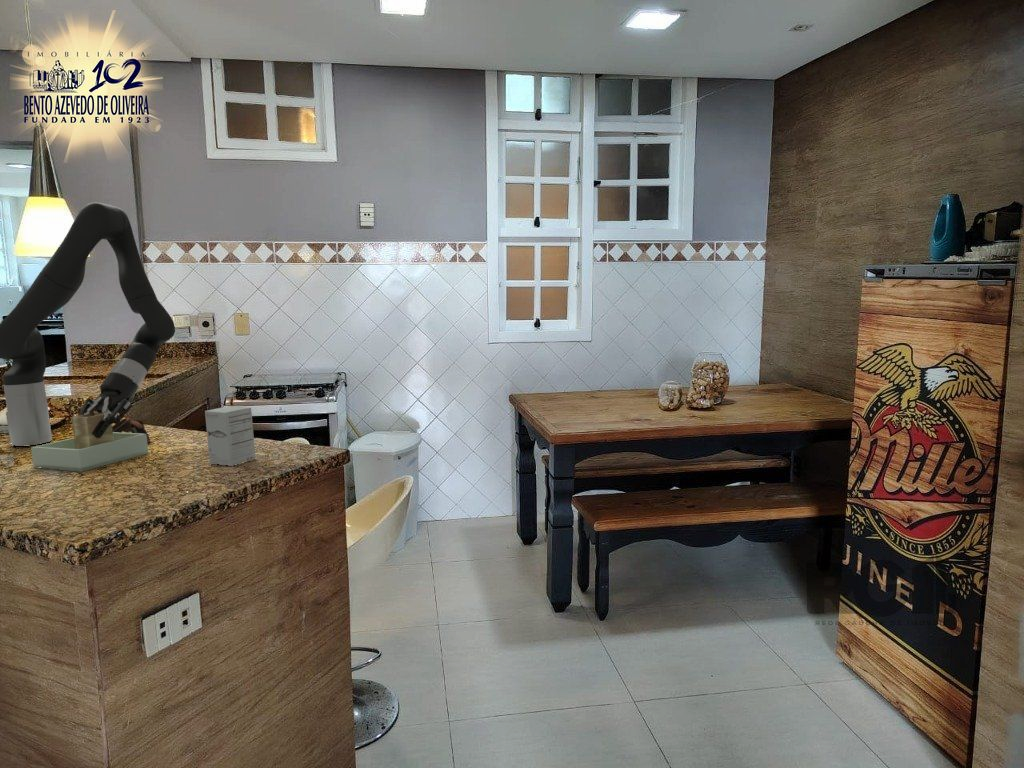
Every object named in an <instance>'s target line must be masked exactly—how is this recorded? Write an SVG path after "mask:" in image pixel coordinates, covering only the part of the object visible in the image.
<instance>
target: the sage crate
mask: <svg viewBox="0 0 1024 768" xmlns="http://www.w3.org/2000/svg"><path fill="white" fill-rule="evenodd" d="M113 439H114V441H112V442H108V443H104V444H99V445H95V446H91V447H87V448H83V449H76V447H75V440H74V437H71V438H67V439H66V438H65V439H63V440H57V441H54V442H53V441H52V442H50V443H46V444H42V445H36V446H30V449H31V450H30V451H31V457H32V464H33V468H34V467H41V468H49V469H48V470H53V469H59V470H58V471H66V470H68V472H70V471H71V472H86V471H89V470H90V471H91V470H93V469H97V468H100V467H104V466H108V465H111V464H115V463H117V462H122V461H125V460H129V459H132V458H136V457H140V456H144V455H146V454H147V455H148V454H149V445H148V444H149V443H147V436H146V434H140V433H132V432H122V433H119V432H113Z"/></svg>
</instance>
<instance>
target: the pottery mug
mask: <svg viewBox="0 0 1024 768" xmlns="http://www.w3.org/2000/svg"><path fill="white" fill-rule="evenodd" d="M112 431H113V432H119V433H140V434H146V436H147V444H149V443H150V442H151V438H150V435H149V434H148V432H147V430H146V428H145V424H144V422H143V421H142V420H141V419H138V418H134V419H133V420H132V419H131V418H130V417H126V418H124V419H123V418H122V419H121V420H120V422H119V423H118V424H115V423H114V424H113V425H112Z"/></svg>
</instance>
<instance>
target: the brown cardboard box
mask: <svg viewBox="0 0 1024 768" xmlns="http://www.w3.org/2000/svg"><path fill="white" fill-rule="evenodd" d="M94 412H95V416H93V415H91V414H86V413H84V415H79V416H78V415H75V416H71V423H72V424H71V425H72V432H73V438H74V440H75V447H76V449H83V448H87V447H91V446H95V445H99V444H104V443H108V442H112V441H114V439H113V431H112V427H113V424H112V425H111V426H108V428H107V429H106V431H105V432H104V434H103V435H102V437H101V438H96V437H95V436H94V435H92V432H93V431H94V429H95V428H96V426H97V425H98V423H99V422H100V421H102V420H101V419H102V417H103V415H104V414H103V413H98V412H97V411H94ZM108 416H109V415H108Z"/></svg>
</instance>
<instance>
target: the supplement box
mask: <svg viewBox="0 0 1024 768" xmlns="http://www.w3.org/2000/svg"><path fill="white" fill-rule="evenodd" d="M204 416H205V425H206V426H205V427H206V435H207V436H206V437H207V447H208V449H207V450H208V457H209V459H208V460H209V464H210V465H217V464H219V466H225V465H228V466H227V467H230V466H232V465H235V464H238V463H242V462H245V461H249V460H252V459H255V458H256V448H255V437H254V435H255V434H254V427H253V415H252V407H244V406H243V407H242V406H230V405H228V406H227V405H226V406H223V407H222V406H221V407H218V408H214V409H213V408H212V409H207V410H205V411H204ZM255 460H256V459H255ZM232 467H233V466H232Z"/></svg>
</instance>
